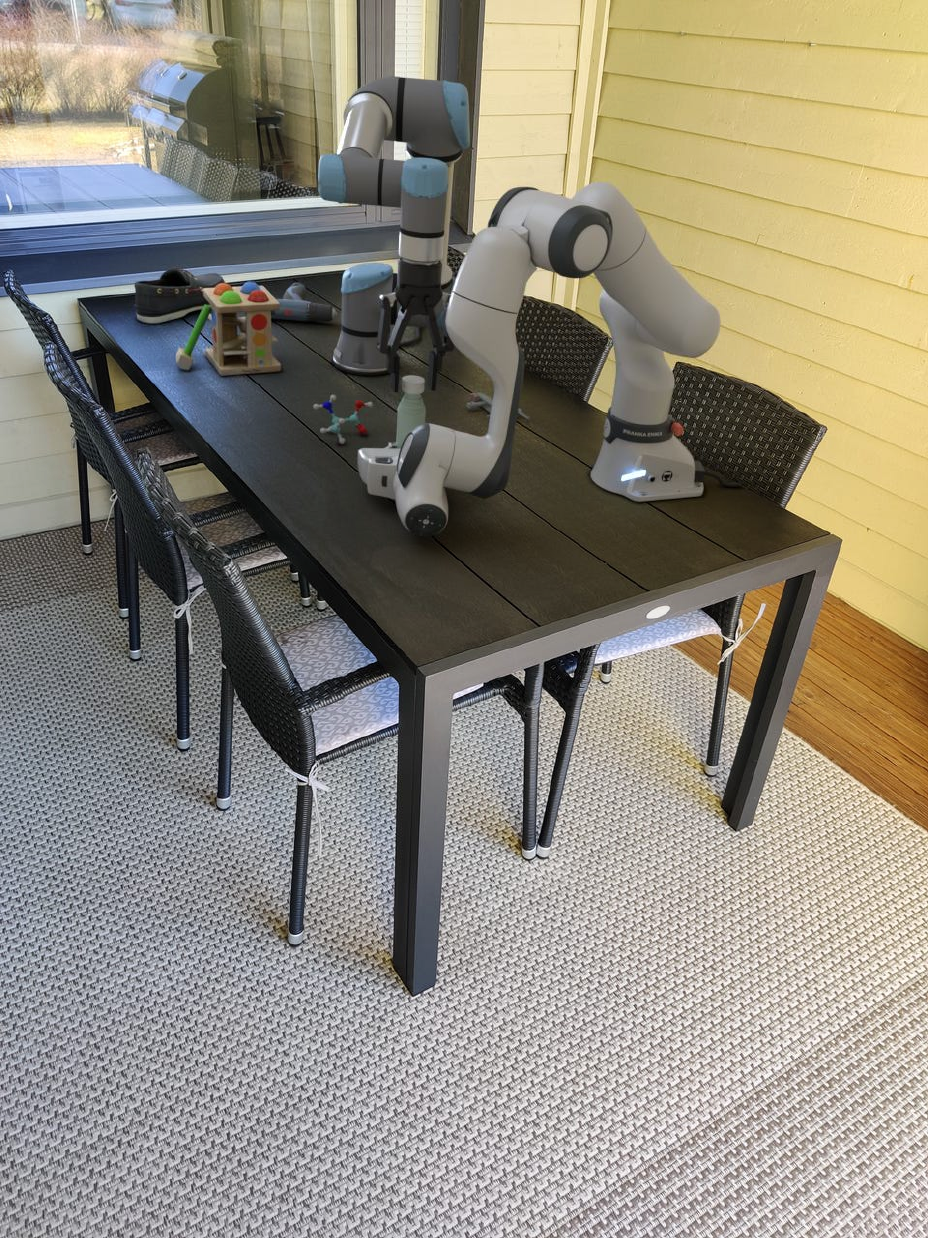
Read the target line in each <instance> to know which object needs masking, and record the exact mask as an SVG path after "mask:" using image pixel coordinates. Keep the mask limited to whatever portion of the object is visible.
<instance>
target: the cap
mask: <svg viewBox="0 0 928 1238" xmlns="http://www.w3.org/2000/svg"><path fill="white" fill-rule="evenodd" d="M425 383H426V380H425V378H424V377H422V376H419V375H413V374H412V375H411V374H410V375H404V376H403V377H402V379H401V391H402V392H404V393H405V392H406V393H410V394H420V393H421V394H422V393H423V392H425ZM421 394H420V395H421Z"/></svg>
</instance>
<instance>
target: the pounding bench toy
mask: <svg viewBox="0 0 928 1238" xmlns="http://www.w3.org/2000/svg"><path fill="white" fill-rule="evenodd" d="M203 296H204V297H205V299H206V300H207V301H208V302H209V304H210V305H211V307H210V306H208V305H204V307H203V309H201V312H200V313H199V316H198V318H197V320H196V322H195V324H194V327H193V329H192V331H191V332H190V333H191V334H190V336H189V338H188V340H187V343H186V344H185V347H184V348H182V347H180V346H179V347H178V349H177V351H176V354H175V357H174V358H175V362H176V365H177V366H178V368H179V369H182V370H185V371H189V370H190V369H191V367H192V365H193V363H194V356H193V351H194V348H195V347H196V345H197V342H198V340H199V337H200V336H201V333H202V332H203V329H204V326H205V325H206V322H207V320H209V321H210V322H211V336H212V337H211V338H212V339H211V340H212V348H205V349H204V352H205V353H204V355H205V357H206V359H208V361H209V363H210V364H211V365H212V366H213V367H214V369H215V370H216V371H217V372H218V374H219V375H220V376H222V377H223V376H234V375H235V376H236V375H246V374H247V375H250V374H262V373H275V372H281V370H282V364H281V363H280V362H279V360H278V359H277V358H276V357H275V356H274V355H273V348H272V347H273V345H272V344H276V343H278V342H279V341H278V339H277V338H276V337H275V336H274V334H272V318H271V310H280V303H279V302H278V301H277V300H276V299H277V298H276V297H274V296H273V295H272V294H271V293H270V292H269V290H268V289H267V288H266V287H264V285H259V284H257V283H256V282H255V281H247V282H245V283H244V284H243V285H242V286H232V285H230V284H229V283H226V282H225V283H221V284H218V285H217V286H216V287H215V288H204V289H203ZM238 313H244V314H245V315H244V316H238ZM238 329H239V331H240V333H239V334H238Z"/></svg>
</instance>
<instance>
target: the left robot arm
mask: <svg viewBox="0 0 928 1238" xmlns="http://www.w3.org/2000/svg"><path fill="white" fill-rule="evenodd" d="M342 115H343V117H342V118H343V119H342V120H343V126H344V130H343V132H342V135H341V139H340V143H339V145H338V149H337V152H336V153H324V154H322V155H321V156H320V158H319V161H318V171H317V172H318V174H317V178H318V179H317V189H318V195H319V197H320V198H321V199H322V200H323V201H327V202H334V203H338V204H340V205H341V204H347V205H348V204H349V205H360V206H361V205H362V206H375V207H376V206H377V207H387V208H397V209H400V220H399V221H400V226H399V238H398V239H399V241H398V256H399V257H400V258H399V259H398V261H397V272H394V268H393V266H392V265H391V264H388V263H383V262H366V263H360V264H359V263H358V264H356V265H352V266H351V267H348V268H346V270H345V271H344V272H343V274H342V281H341V288H340V293H341V319H340V321H341V324H340V325H341V326H340V329H341V330H340V336H339V338H338V341H337V344H336V347H334V350H333V361H332V362H333V363H332V364H333V366H334V367H335V368H337V369H338V370H339V371H342V372H344V373H347V374H352V375H356V376H380V375H381V376H382V375H386V374H390V388H391V390H392V392H393V393H399V390H400V389H399V388H400V387H399V386H400V370H401V369H400V365H401V357H400V355H399V354H398V353H397V352H398V350H399V348H401V347H406V346H409V345H413V344H415V343H417V342H418V341H419V340H420V338H421V335H420V331H421V328H426V329H428V332H429V335H430V339H431V342H432V347H433V350H429V354H428V355H429V357H428V369H427V370H428V371H427V387H428V388H429V390H430V391H431V392H436V391H437V378H438V377H437V376H438V372H442V370H443V362H444V361H443V360H444V357H445V356H446V353H447V352H453V351H454V349H455V345H454V344H453V342H452V341H451V339H450V337H449V335H448V333H447V329H446V324H445V319H446V313H447V307H448V303H449V299H450V295H451V292H452V289H453V286H454V283H455V280H456V277H454V276H453V270H452V268H451V267H450V266H449V265H448V252H449V251H448V250H449V249H448V248H449V236H450V223H451V221H450V220H451V209H452V195H453V193H452V192H453V183H454V182H453V180H454V167H455V166H454V165H455V163H456V162H458V161H459V160H460V159H461V158H462V155H463V150H465V149H468V148H470V143H471V142H470V141H471V139H470V138H471V136H470V133H471V131H470V102H469V92H468V88H466V86H465V85H464V84H463V83H459V82H452V81H448V80H445V79H444V80H437V79H426V78H415V77H403V76H394V75H392V76H391V75H390V76H383V77H379V78H377V79H374V80H371V81H369V82H367V83H365V84H363V85H362V86H361V87H359V88H357V90H355V91H354V92H353V93H352V94H351V95H350V96H349V98H348V100H347V102H346V104H345V107H344V110H343V114H342ZM384 141H388V142H396V143H406V146H405V147H406V148H405V150H406V154H407V155H408V156H409V157H410V158H408V159H405V160H402V159H401V160H400V159H389V158H381V155H382V150H383V144H384ZM391 326H393V329H392V331H391ZM407 327H412V328H413V327H415V328H416V329H415V338H412V339H409V340H406V341H402V340H403V337H404V334H405V331H406V330H407ZM440 329H443V331H442V332H443V333H442V334H443V336H442V337H443V341H442V338H441V334H440V333H441V332H440Z"/></svg>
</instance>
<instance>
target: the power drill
mask: <svg viewBox="0 0 928 1238" xmlns="http://www.w3.org/2000/svg"><path fill="white" fill-rule="evenodd" d="M307 295H308V290H307V287H306V285H304V284H303V283H301V282H293V283H292V284H291V285H290V286H289V287H288V288H287V289H286V291H285V292H284V294H283V297H282V298H275V299H276V300H277V301H278V302H279V303H280V310H271V319H274V320H275V319H276V320H283V321H294V322H295V321H297V322H332V321H333V320H334V319H336V318H337V317H338V312H337V311H336V308H334V307H333V306H332V305H331V304H324V303H317V302H313V301H307V300H305V299H306V297H307Z"/></svg>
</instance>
